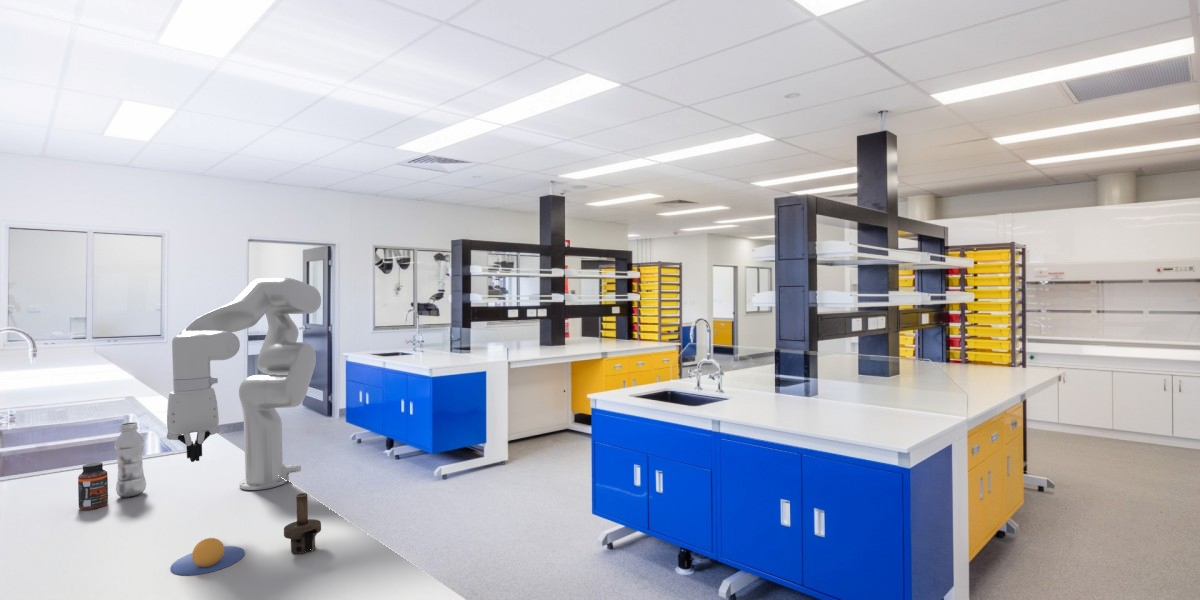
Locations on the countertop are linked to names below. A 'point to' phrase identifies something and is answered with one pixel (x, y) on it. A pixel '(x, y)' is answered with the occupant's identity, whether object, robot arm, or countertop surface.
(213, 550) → the ball
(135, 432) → the plastic bottle
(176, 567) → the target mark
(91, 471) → the supplement bottle
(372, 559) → the countertop surface
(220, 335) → the robot arm
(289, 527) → the industrial component
